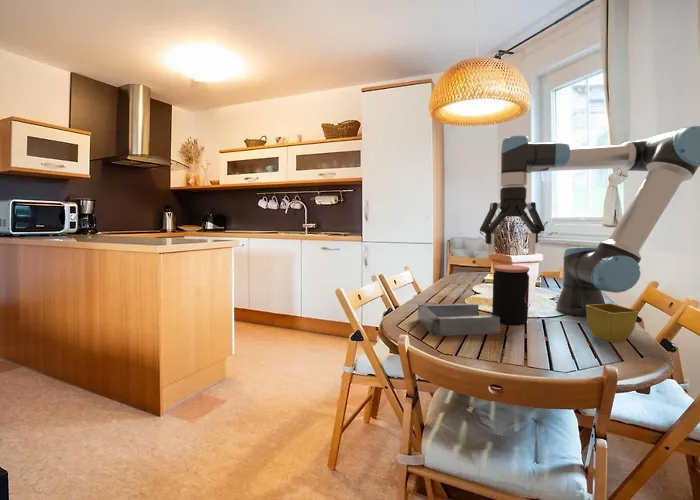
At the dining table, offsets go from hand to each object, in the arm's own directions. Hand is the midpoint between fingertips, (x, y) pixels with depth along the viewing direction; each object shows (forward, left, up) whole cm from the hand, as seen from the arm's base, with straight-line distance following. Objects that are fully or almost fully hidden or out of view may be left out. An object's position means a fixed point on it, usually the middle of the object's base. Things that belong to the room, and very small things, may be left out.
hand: (511, 253), depth 118 cm
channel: (+19, +3, -22) cm, 29 cm away
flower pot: (-19, +19, -22) cm, 35 cm away
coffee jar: (0, 0, -22) cm, 23 cm away
